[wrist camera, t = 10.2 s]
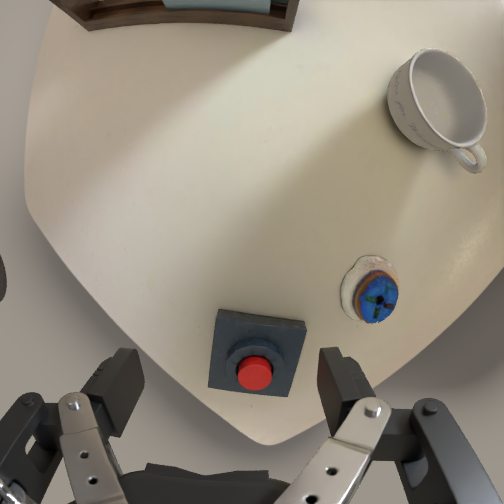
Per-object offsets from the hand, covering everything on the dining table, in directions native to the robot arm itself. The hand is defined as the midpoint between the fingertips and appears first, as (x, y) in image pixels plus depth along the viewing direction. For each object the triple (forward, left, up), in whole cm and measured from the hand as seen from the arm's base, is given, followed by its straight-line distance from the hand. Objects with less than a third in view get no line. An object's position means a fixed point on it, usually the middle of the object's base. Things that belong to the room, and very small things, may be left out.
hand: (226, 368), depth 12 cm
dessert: (+15, -2, -20) cm, 26 cm away
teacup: (+18, +19, -21) cm, 34 cm away
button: (+3, -12, -17) cm, 21 cm away
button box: (+3, -12, -20) cm, 24 cm away
